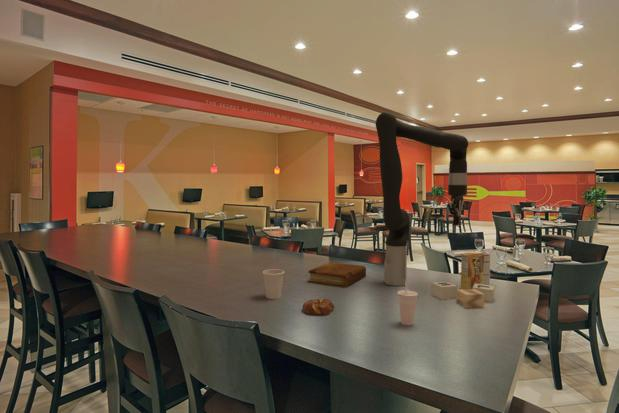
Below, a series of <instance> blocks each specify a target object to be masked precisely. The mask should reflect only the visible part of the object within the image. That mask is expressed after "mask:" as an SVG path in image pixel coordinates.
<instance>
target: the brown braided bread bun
mask: <svg viewBox="0 0 619 413" xmlns="http://www.w3.org/2000/svg"><path fill="white" fill-rule="evenodd" d="M334 309H335V304H334V303H333V302H332V301H331V300H330V299H329V298H323V299H319V298H317V299H309V300H307V301H305V302H304V303H303V304H302V311H303V312H304V313H305V314H308V315H311V316H327V315H330V314H331V313H332V311H334ZM331 310H332V311H331Z"/></svg>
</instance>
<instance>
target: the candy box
mask: <svg viewBox="0 0 619 413" xmlns="http://www.w3.org/2000/svg"><path fill="white" fill-rule="evenodd" d="M483 266H484V254H482V253H477V252H476V253H474V252H468V253H461V266H460V267H461V269H460V289H473V286H474V284H475V283H476V284H483Z"/></svg>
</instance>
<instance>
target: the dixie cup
mask: <svg viewBox="0 0 619 413" xmlns="http://www.w3.org/2000/svg"><path fill="white" fill-rule="evenodd" d="M262 273H263V282H264V289H265V297H266V299H268V300H270V299H271V300H278V299H281V297H282V292H283V290H282V289H283V282H284V275H285V270H282V269H279V268H278V269H276V268H275V269H274V268H271V269H265V270H263V271H262Z"/></svg>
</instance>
